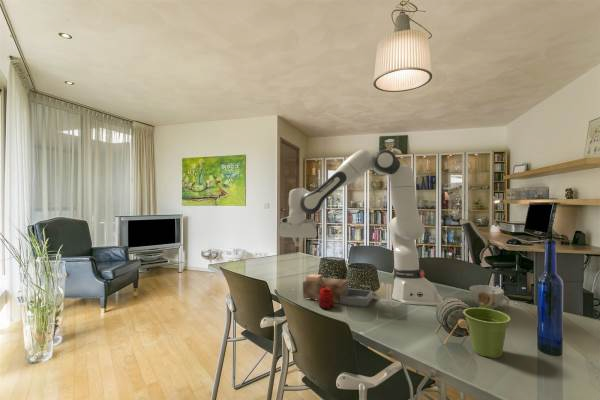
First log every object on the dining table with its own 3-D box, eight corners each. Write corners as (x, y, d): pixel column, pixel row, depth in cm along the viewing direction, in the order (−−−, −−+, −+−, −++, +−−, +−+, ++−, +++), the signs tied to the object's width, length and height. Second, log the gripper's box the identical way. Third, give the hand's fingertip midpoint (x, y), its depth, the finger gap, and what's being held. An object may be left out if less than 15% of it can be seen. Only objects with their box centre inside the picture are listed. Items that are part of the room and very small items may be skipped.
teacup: (463, 305, 129) (462, 287, 129) (481, 301, 134) (480, 283, 134) (499, 316, 115) (498, 296, 115) (517, 311, 121) (517, 291, 121)
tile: (322, 279, 149) (321, 275, 149) (317, 281, 144) (317, 277, 144) (311, 278, 152) (311, 274, 152) (306, 280, 146) (306, 276, 146)
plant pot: (457, 351, 89) (455, 313, 89) (475, 340, 96) (474, 305, 96) (501, 367, 79) (499, 325, 80) (518, 354, 86) (517, 315, 86)
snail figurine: (491, 325, 107) (489, 291, 108) (473, 319, 113) (472, 287, 113) (499, 322, 110) (498, 289, 110) (482, 316, 116) (481, 285, 116)
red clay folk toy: (333, 310, 126) (332, 275, 127) (317, 309, 128) (316, 274, 128) (335, 304, 134) (334, 271, 134) (319, 304, 135) (318, 271, 135)
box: (373, 298, 142) (372, 290, 142) (366, 307, 129) (366, 299, 129) (348, 295, 147) (348, 288, 147) (340, 304, 134) (339, 296, 134)
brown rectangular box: (348, 296, 146) (347, 279, 146) (340, 303, 135) (340, 285, 135) (312, 292, 154) (312, 276, 155) (303, 298, 144) (302, 282, 144)
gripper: (318, 218, 150) (319, 246, 150) (283, 219, 159) (283, 244, 159) (313, 219, 145) (314, 247, 144) (277, 219, 154) (278, 246, 153)
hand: (298, 246), depth 152 cm, fingers closed
